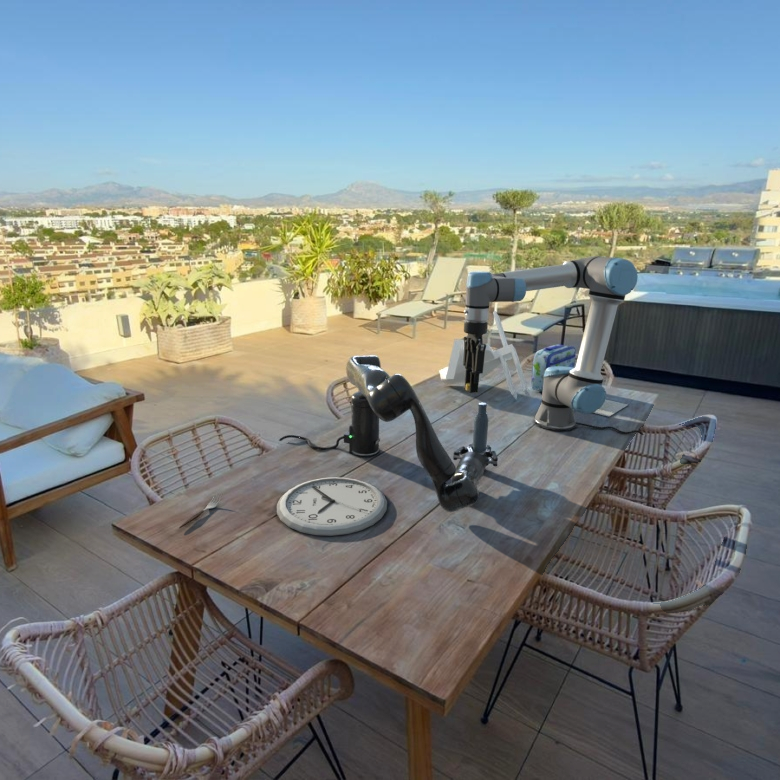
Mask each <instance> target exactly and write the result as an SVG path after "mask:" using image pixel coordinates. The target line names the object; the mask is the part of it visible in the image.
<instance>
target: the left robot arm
mask: <svg viewBox="0 0 780 780" xmlns="http://www.w3.org/2000/svg"><path fill="white" fill-rule="evenodd" d="M345 373H346V376H347V379H348V381H349V383H350V384H351V385H353V386H354V387H356V388H357V389H358V391H356V392H354V393H352V395H351V398H350V399H351V401H350V403H351V405H350V406H351V407H350V408H351V409H350V410H351V411H350V412H351V423H350V425H349V427H348V430H347V431H346V432H345V433H344V434H343V435H341V436H340V437H338V438H337V439H336V443H335V445H332V446H327V447H323V446H317V445H313V444H312V443H311V440H310V439H309V438H307V437H304V436H300V435H294V434H287V435H284V436H282V437H280V438H279V439H278V441H279V442H282V441H283V440H285V439H289V438H292V439H293V438H294V439H299V440H303V441H306V442H307V445H308V446H309V447H310V448H311V449H315V450H320V451H325V450H332V449H336V448H338V446H339V445H340V441H341V440H343V443H344V444H348V447H349V448H348V450H349V452H348V453H351V454H353V455H354V456H358V457H363V458H364V457H365V458H366V457H374V456H376V455H377V454H379V452H380V442H381V437H380V420H381V421H383V422H386V423H389V422H390V423H391V422H392V421H395V420H396V419H397V418H399V417H400V416H402V415H403V414H405V413H406V412H407V411H409V410H410V413H411V415H412V417H413V421H414V425H415V450H416V456H417V459H418V461H419V462H420V465H421V466H422V467H423V469H424V470H425V472H426V474H427V475H428V477H429V478H430V480H431V482H432V485H433V488H434V490H435V493H436V497H437V501H438V504H439V506H440V507H441V509H443V510H444V511H446V512H447V513H454V512H457V511H459V510H462V509H465V508H468V507H471V506H473V505H475V504H476V503H477V502H478V500H479V498H480V492H479V487H478V485H479V482H480V481H481V479H482V477H483V475H484V472H485V470H486V467H487V466H489V465H492V466H493V467H498V462H499V457H498V455H497V452H496V451H495V450H492V447H491V446H490V445H489V444H487V445H486V450H485V451H484V450H483V451H481V452H480V453H477V452H474V451H472V449H473V442H471V443H469V444H468V446H463V445H462V446H460V447H458V448H457V449H455V450H453V454H452V455H453V456H452V459H451V457H450V455H449V454H448V452H447V451H446V449H445V448H444V445H442V443H441V441H440V440H439V438H438V436H437V433H436V431H435V429H434V427H433V425H432V423H431V421H430V419H429V417H428V415H427V413H426V411H425V409H424V407H423V405H422V402H421V401H420V398H419V397H418V395H417V393H416V392H415V390H414V387H412V385H411V384H410V382H409V381H408V380H407V379H406V377H405V376H403V375H402V374H400V373H394V374H393V375H391V376H390V375H389V373H388V372H387V371H385V370H384V369H383V368H382V365H381V360H380V358H379V356H378V355H354V356H350V358H348V360H347V362H346V365H345ZM299 437H300V438H299ZM453 460H454V461H457V460H459V461H458V463H457V465H455V463H454V461H453ZM449 480H451V483H447V482H448V481H449Z"/></svg>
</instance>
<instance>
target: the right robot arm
mask: <svg viewBox="0 0 780 780" xmlns="http://www.w3.org/2000/svg"><path fill="white" fill-rule="evenodd" d="M638 277H639V276H638V271H637V268H636V267H635V264H634V263H633V262H631V261H630V260H628V259H626V258H621V257H612V256H610V257H609V256H600V255H597V256H595V255H594V256H587V257H583V258H578V259H571V260H566V261H564V262H563V263H562V264H557V265H550V266H549V265H548V266H542V267H534V268H528V269H527V268H525V269H519V270H512V271H511V270H510V271H504V272H497V273H496V272H495V273H491V271H485V270H484V271H481V270H477V271H476V270H475V271H474V270H473V271H469V272H468V274H467V277H466V278H467V279H466V285H465V309H464V311H463V314H464V321H463V332H464V333H465V334H467V336H463V340H464V358H463V365H464V366H465V369H466V374H465V383H464V389H465V388H466V383H470V390H469V391H468V392H469V393H470V394H474V393H479V385H480V382H479V374H480V373H483V365H484V355H485V349H486V344H487V343H483V341H484V340H483V335H486V334H488V326H489V322H488V321H489V315H490V304H491V303H497V302H498V303H501V302H502V303H515V302H521V301H522V300H524V298H525V297H526V294H527V292H531V291H539V290H546V289H554V288H560V287H564V288H567V289H572V288H573V289H575V288H577V289H579V288H580V289H587V290H589V291H588V297H589V299H590V301H591V302H590V306H589V310H588V315H587V318H586V322H585V326H584V330H583V335H582V338H581V342H580V347H579V351H578V355H577V359H576V362H575V366H574V368H573V367H563V366H556V367H549V368H547V369H546V370H545V374H544V382H543V392H542V391H541V393H542V394H541V402H540V405H539V407H538V410H537V411H536V413H535V416H534V424H535V425H536V426H537V427H539V428H542V429H544V430H549V431H556V432H567V431H572V430H574V429H575V428H576V425H577V426H581V427H587V428H592V429H595V430H605V429H611V430H613V431H616V432H617V433H619V434H623V435H631V434H634V433H638V434H640V435H641V436H644V433H643V432H642V431H641V430H638V429H634V430H629V431H623V430H620V429H619V428H617V427H614V426H611V425H605V426H597V425H592V424H588V423H583V422H577V421H576V418H575V417H576V416H575V413H574V412H577V413H580V414H583V415H590V414H594V413H593V412H595V411H596V410H598V409H600V408H601V406H602V405H603V404H604V402H605V399H606V400H607V392H606V390H605V388H604V386H603V383H604V376H603V375H602V373H601V372H602V368H603V365H604V360H605V356H606V352H607V350H608V349H607V348H608V345H609V341H610V337H611V333H612V330H613V326H614V323H615V322H614V321H615V318H616V314H617V310H618V307H619V305H620V304H622V303H624V302H625V299H626V296H627V295H629V294H630V293H632V291H633V290H635V288H636V286H637V284H638Z"/></svg>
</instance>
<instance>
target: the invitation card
mask: <svg viewBox="0 0 780 780" xmlns="http://www.w3.org/2000/svg"><path fill="white" fill-rule="evenodd" d="M628 406H629V404H627V403H623V402H618V401H614V400H609V399H607V398H606V399H605V402H604V404H603V405H602V406H601V408H600V409H598V410H596V411H595V412H593V413H592V414H596V415H600V416H604V417H608V418H609V417H611V416H613V415H614V414H616V413H617V412H619V411H621V410H623V409H624V408H626V407H628Z"/></svg>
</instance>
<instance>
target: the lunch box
mask: <svg viewBox="0 0 780 780" xmlns="http://www.w3.org/2000/svg"><path fill="white" fill-rule="evenodd" d="M576 357H577V355H576V347H575V346H569V345H565V344H554V345H550V346H547V347H544V348H542V349H541V348H540V349H539V350H537V351H536V352H535V353H534V356H533V360H532V367H531V368H532V369H531V382H530V383H531V386H530V387H531V389H532V390H533V391H537V392H541V393H542V392H543V382H544V374H545V370H546V369H547V368H549V367H556V366H563V367H573V368H575V366H576Z"/></svg>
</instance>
